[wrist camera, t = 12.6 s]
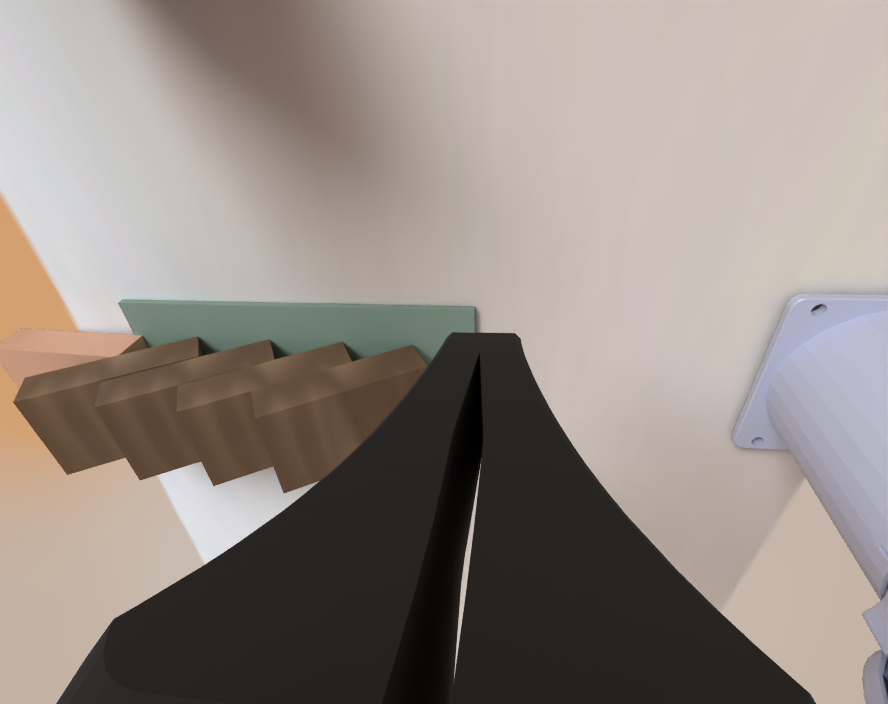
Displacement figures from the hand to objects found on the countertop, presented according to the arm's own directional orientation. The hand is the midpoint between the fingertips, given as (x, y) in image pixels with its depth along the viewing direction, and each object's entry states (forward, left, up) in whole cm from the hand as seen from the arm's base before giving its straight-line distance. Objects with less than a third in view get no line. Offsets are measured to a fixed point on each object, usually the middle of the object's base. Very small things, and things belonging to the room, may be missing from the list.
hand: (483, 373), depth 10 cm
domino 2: (+10, +8, -9) cm, 16 cm away
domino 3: (+7, +8, -9) cm, 14 cm away
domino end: (+17, +8, -9) cm, 21 cm away
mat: (+9, +8, -10) cm, 16 cm away
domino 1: (+14, +8, -9) cm, 18 cm away
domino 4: (+3, +8, -9) cm, 13 cm away
